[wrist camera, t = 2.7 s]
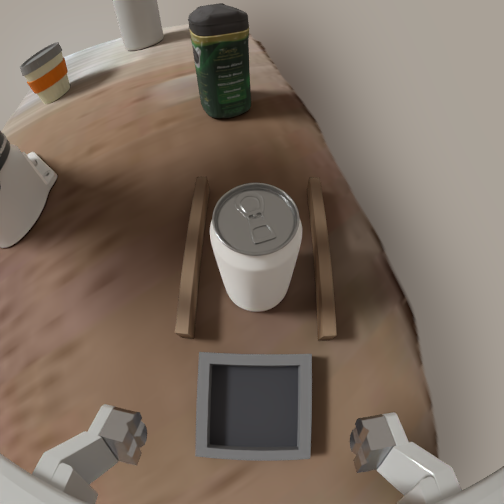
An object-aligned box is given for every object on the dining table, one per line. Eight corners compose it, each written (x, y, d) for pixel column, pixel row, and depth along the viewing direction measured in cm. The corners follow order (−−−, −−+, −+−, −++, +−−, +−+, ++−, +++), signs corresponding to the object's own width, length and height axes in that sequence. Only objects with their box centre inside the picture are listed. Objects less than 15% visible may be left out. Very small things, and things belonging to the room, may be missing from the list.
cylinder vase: (139, 52, 59) (123, -19, 37) (118, 51, 63) (101, -12, 41) (172, 37, 64) (160, -30, 42) (148, 35, 67) (136, -24, 45)
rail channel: (329, 339, 26) (336, 335, 24) (182, 337, 26) (175, 333, 24) (316, 190, 34) (319, 177, 32) (200, 190, 34) (196, 176, 32)
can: (275, 246, 30) (283, 169, 20) (298, 300, 28) (322, 243, 17) (217, 264, 30) (195, 192, 19) (236, 321, 27) (220, 275, 16)
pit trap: (306, 454, 21) (310, 458, 19) (199, 451, 21) (195, 456, 19) (308, 355, 25) (311, 353, 24) (203, 354, 25) (199, 351, 24)
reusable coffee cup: (62, 82, 57) (47, 45, 44) (83, 81, 55) (67, 38, 41) (32, 108, 52) (13, 70, 39) (50, 109, 50) (29, 65, 36)
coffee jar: (257, 114, 41) (256, 8, 25) (210, 125, 40) (194, 16, 24) (238, 88, 46) (233, -2, 29) (197, 98, 44) (182, 6, 28)
